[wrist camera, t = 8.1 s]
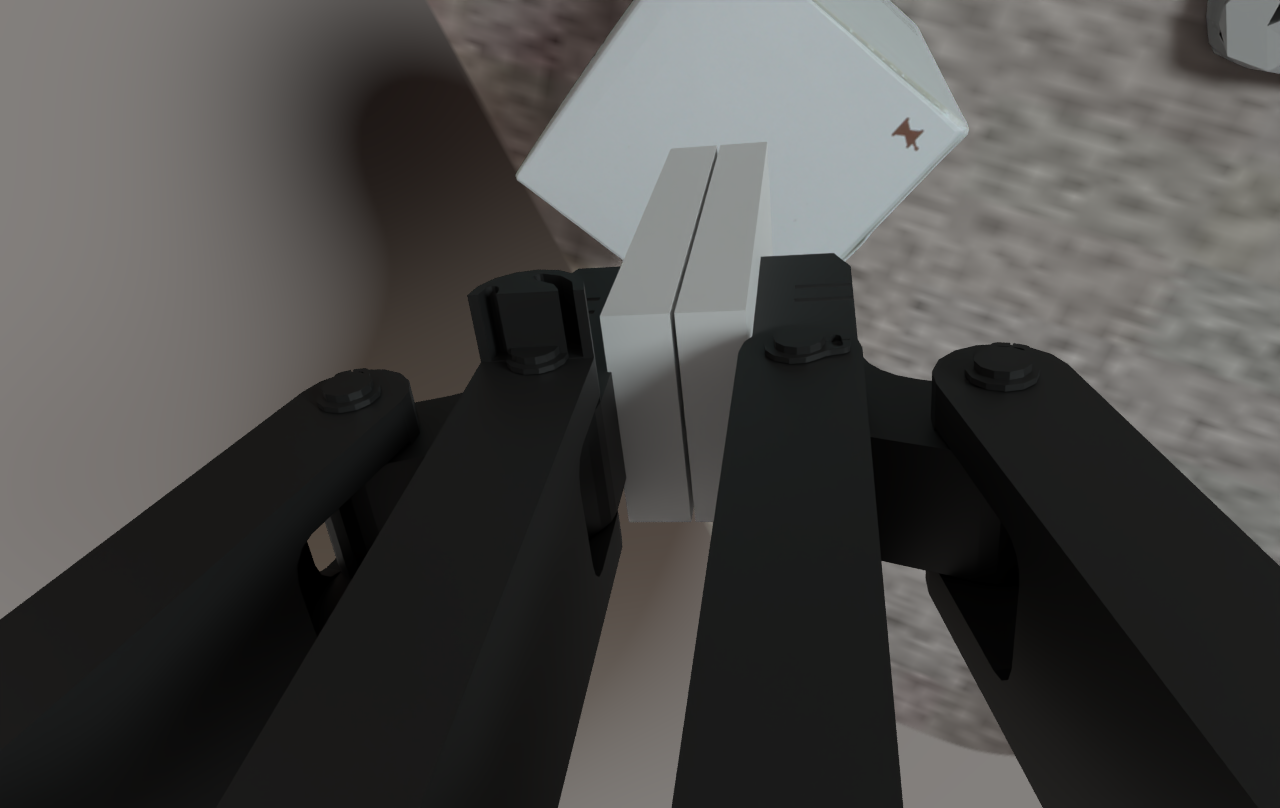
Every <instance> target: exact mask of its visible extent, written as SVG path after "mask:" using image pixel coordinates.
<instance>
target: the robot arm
mask: <svg viewBox="0 0 1280 808" xmlns="http://www.w3.org/2000/svg"><path fill="white" fill-rule="evenodd" d="M467 297H468V301H469V306H470V311H471V315H472V320H473V325H474V330H475V335H476V340H477V344H478V349H479V354H480V359H481V363H480V365H479V367H478V368H477V370H476V372H475V373H474V375H473V377H472V379H471V380H470V382H469V384H468V385H467V387H466V389H465V390H464V392H463V393H460V394H456V395H452V396H447V397H442V398H437V399H431V400H426V401H421V402H416V403H414V399H413V395H412V391H411V387H410V383H409V380H408V379H406V378H405V377H404V376H403V375H402V374H400V373H397V372H393V371H389V370H368V369H366V368H363V369H354V370H353V372H351V370H349V371H344V372H341V373H338V374H336V375H335V376H334V377H332V378H329V379H326V380H324V381H321V382H319V383H317V384H316V385H314V386H312V387H310V388H308V389H307V390H306V391H303V392H302V393H301V394H299V395H298V396H297V397H295V398H294V399H293V400H291V401H290V402H289V403H287V404H286V405H285V406H283V407H282V408H281V409H279V410H278V411H277V412H275V413H274V414H273V415H271V416H270V417H269V418H267V419H266V420H265V421H263V422H262V423H261V424H259V425H258V426H257V427H256V428H254V429H253V430H251V431H250V432H249V433H247V434H246V435H245V436H243V437H242V438H241V439H239V440H238V441H237V442H235V443H234V444H233V445H231V446H230V447H229V448H228V449H226V450H225V451H224V452H222V453H221V454H220V455H218V456H217V457H216V458H214V459H213V460H212V461H210V462H209V463H208V464H207V465H205V466H204V467H202V468H201V469H200V470H199V471H197V472H196V473H195V474H193V475H192V476H190V477H189V478H188V479H186V480H185V481H184V482H182V483H181V484H180V485H178V486H177V487H176V488H174V489H173V490H172V491H170V492H169V493H168V494H166V495H165V496H164V497H162V498H161V499H160V500H158V501H157V502H156V503H155V504H153V505H152V506H151V507H149V508H148V509H147V510H145V511H144V512H143V513H141V514H140V515H139V516H137V517H136V518H135V519H133V520H132V521H131V522H129V523H128V524H127V525H125V526H124V527H123V528H121V529H120V530H119V531H117V532H116V533H115V534H113V535H112V536H111V537H110V538H108V539H107V540H105V541H104V542H103V543H101V544H100V545H99V546H98V547H96V548H95V549H93V550H92V551H91V552H89V553H88V554H87V555H86V556H84V557H83V558H81V559H80V560H79V561H77V562H76V563H75V564H73V565H72V566H71V567H70V568H68V569H67V570H66V571H64V572H63V573H62V574H60V575H59V576H58V577H56V578H55V579H54V580H52V581H51V582H50V583H48V584H47V585H46V586H45V587H43V588H42V589H40V590H39V591H38V592H36V593H35V594H34V595H32V596H31V597H30V598H28V599H27V600H26V601H24V602H23V603H22V604H20V605H19V606H18V607H17V608H15V609H14V610H13V611H11V612H10V613H8V614H7V615H6V616H4V617H3V618H2V619H0V808H558V805H559V800H560V797H561V792H562V788H563V784H564V780H565V776H566V772H567V768H568V764H569V760H570V756H571V752H572V748H573V744H574V739H575V736H576V732H577V728H578V724H579V719H580V715H581V712H582V707H583V703H584V699H585V695H586V691H587V687H588V683H589V679H590V675H591V671H592V667H593V663H594V659H595V655H596V651H597V647H598V643H599V639H600V635H601V631H602V626H603V623H604V619H605V614H606V610H607V606H608V602H609V598H610V594H611V590H612V586H613V582H614V578H615V574H616V569H617V566H618V562H619V558H620V554H621V550H622V536H621V529H620V522H619V515H618V506H619V503H620V499H621V496H622V492H623V489H624V490H625V497H626V504H627V511H628V517H629V522H691V520H692V514H693V508H694V510H695V520H696V522H713V529H712V535H711V542H710V549H709V556H708V563H707V570H706V577H705V583H704V590H703V597H702V604H701V611H700V618H699V625H698V631H697V638H696V645H695V652H694V659H693V665H692V672H691V680H690V686H689V692H688V699H687V706H686V713H685V721H684V727H683V734H682V740H681V747H680V755H679V761H678V768H677V774H676V781H675V788H674V795H673V802H672V808H903V800H902V788H901V777H900V766H899V755H898V744H897V732H896V721H895V710H894V698H893V687H892V676H891V665H890V653H889V642H888V631H887V620H886V608H885V597H884V586H883V575H882V563H881V561H885V562H890V563H894V564H899V565H903V566H908V567H912V568H917V569H922V570H926V583H927V587H928V592H929V594H930V596H931V598H932V600H933V602H934V604H935V606H936V608H937V610H938V611H939V613H940V615H941V617H942V619H943V621H944V623H945V625H946V626H947V628H948V630H949V632H950V634H951V636H952V638H953V640H954V641H955V643H956V645H957V647H958V649H959V651H960V653H961V655H962V657H963V658H964V660H965V662H966V664H967V666H968V668H969V670H970V672H971V673H972V675H973V677H974V679H975V681H976V683H977V685H978V687H979V688H980V690H981V692H982V694H983V696H984V698H985V700H986V702H987V704H988V705H989V707H990V709H991V711H992V713H993V715H994V717H995V719H996V720H997V722H998V724H999V726H1000V728H1001V730H1002V732H1003V734H1004V735H1005V737H1006V739H1007V741H1008V743H1009V745H1010V747H1011V749H1012V751H1013V752H1014V754H1015V756H1016V758H1017V760H1018V762H1019V764H1020V765H1021V767H1022V769H1023V771H1024V773H1025V775H1026V777H1027V779H1028V781H1029V782H1030V784H1031V786H1032V788H1033V790H1034V792H1035V794H1036V795H1037V797H1038V799H1039V801H1040V803H1041V805H1042V807H1043V808H1280V566H1279V565H1278V564H1277V563H1276V562H1275V561H1274V560H1273V559H1272V558H1271V557H1269V556H1268V555H1267V554H1266V553H1265V552H1264V551H1263V550H1262V549H1261V548H1260V547H1259V546H1258V545H1257V544H1256V543H1255V542H1254V541H1253V540H1252V539H1251V538H1250V537H1248V536H1247V535H1246V534H1245V533H1244V532H1243V531H1242V530H1241V529H1240V528H1239V527H1238V526H1237V525H1236V524H1235V523H1234V522H1233V521H1232V520H1231V519H1230V518H1229V517H1228V516H1226V515H1225V514H1224V513H1223V512H1222V511H1221V510H1220V509H1219V508H1218V507H1217V506H1216V505H1215V504H1214V503H1213V502H1212V501H1211V500H1210V499H1209V498H1208V497H1207V496H1206V495H1204V494H1203V493H1202V492H1201V491H1200V490H1199V489H1198V488H1197V487H1196V486H1195V485H1194V484H1193V483H1192V482H1191V481H1190V480H1189V479H1188V478H1187V477H1186V476H1185V475H1183V474H1182V473H1181V472H1180V471H1179V470H1178V469H1177V468H1176V467H1175V466H1174V465H1173V464H1172V463H1171V462H1170V461H1169V460H1168V459H1167V458H1166V457H1165V456H1164V455H1163V454H1161V453H1160V452H1159V451H1158V450H1157V449H1156V448H1155V447H1154V446H1153V445H1152V444H1151V443H1150V442H1149V441H1148V440H1147V439H1146V438H1145V437H1144V436H1143V435H1142V434H1141V433H1139V432H1138V431H1137V430H1136V429H1135V428H1134V427H1133V426H1132V425H1131V424H1130V423H1129V422H1128V421H1127V420H1126V419H1125V418H1124V417H1123V416H1122V415H1121V414H1120V413H1119V412H1117V411H1116V410H1115V409H1114V408H1113V407H1112V406H1111V405H1110V404H1109V403H1108V402H1107V401H1106V400H1105V399H1104V398H1103V397H1102V396H1101V395H1100V394H1099V393H1098V392H1096V391H1095V390H1094V389H1093V388H1092V387H1091V386H1090V385H1089V384H1088V383H1087V382H1086V381H1085V380H1084V379H1083V378H1082V377H1081V376H1080V375H1079V374H1078V373H1077V372H1076V371H1074V370H1073V369H1072V368H1071V367H1070V366H1069V365H1068V364H1067V363H1065V362H1063V361H1062V360H1060V359H1059V358H1057V357H1055V356H1054V355H1052V354H1050V353H1047V352H1043V351H1040V350H1037V349H1033V348H1030V347H1029V346H1027V345H1022V344H1015V343H1014V344H1013V345H1010V343H1001V342H997V343H992V344H991V345H976V346H972V347H968V348H964V349H960V350H955V351H953V352H951V353H950V354H948V355H946V356H944V357H943V358H941V359H939V360H938V362H937V364H936V365H935V367H934V369H933V371H932V381H927V380H920V379H913V378H908V377H903V376H898V375H894V374H891V373H889V372H886V371H883V370H880V369H879V368H877V367H875V366H873V365H871V364H870V363H868V362H867V361H866V360H865V359H864V358H863V350H862V346H861V344H860V343H859V341H858V339H857V328H856V318H855V307H854V299H853V287H852V276H851V266H849V265H848V264H847V263H846V262H844V261H843V260H842V259H841V258H840V257H838V256H837V255H836V254H835V253H822V254H803V255H783V256H773V246H772V226H771V206H770V186H769V166H768V146H767V142H755V143H742V144H728V145H720V148H719V152H717V145H714V146H700V147H686V148H673V149H670V152H669V154H668V157H667V159H666V161H665V164H664V166H663V168H662V171H661V173H660V175H659V178H658V180H657V182H656V185H655V187H654V190H653V192H652V194H651V197H650V199H649V201H648V204H647V206H646V208H645V211H644V213H643V215H642V218H641V220H640V223H639V225H638V227H637V230H636V232H635V234H634V237H633V239H632V241H631V244H630V246H629V249H628V251H627V253H626V256H625V258H624V260H623V263H622V265H621V267H606V268H586V269H578V270H576V271H575V272H573V273H568V272H564V271H560V270H533V271H525V272H517V273H513V274H509V275H505V276H502V277H498V278H495V279H493V280H490V281H488V282H486V283H484V284H482V285H480V286H478V287H477V288H476V289H474V290H473V291H472V292H471V293H470V294H469V295H467ZM324 522H325V524H326V527H327V531H328V534H329V536H330V540H331V543H332V546H333V549H334V552H335V556H336V559H335V560H334V561H333V562H332V563H331V564H330V565H329V566H328V567H327V568H325V569H324V570H322V571H320V572H319V570H318V569H317V567H316V566H315V564H314V561H313V558H312V555H311V552H310V549H309V546H308V543H307V540H308V539H309V537H310V536H311V534H312V533H313V532H314V531H315V530H316V529H318V528H319V527H320V526H321V525H322V524H323V523H324Z"/></svg>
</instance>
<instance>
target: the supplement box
mask: <svg viewBox="0 0 1280 808" xmlns="http://www.w3.org/2000/svg"><path fill="white" fill-rule="evenodd" d="M968 131H969V128H968V124H967V122H966V120H965V118H964V117H963V115H962V113H961V111H960V109H959V107H958V105H957V103H956V101H955V99H954V97H953V95H952V93H951V91H950V89H949V87H948V86H947V84H946V82H945V80H944V78H943V76H942V74H941V72H940V70H939V68H938V66H937V64H936V62H935V60H934V58H933V56H932V54H931V52H930V50H929V48H928V46H927V44H926V42H925V40H924V38H923V36H922V34H921V32H920V30H919V28H918V26H917V25H916V24H915V23H914V22H913V21H912V20H911V19H910V18H909V17H907V16H906V15H905V14H904V13H903V12H902V11H901V10H900V9H899V8H898V7H896V6H895V5H894V4H893V3H892V2H891V1H890V0H633V1H632V3H631V4H630V6H629V7H628V8H627V10H626V11H625V12H624V14H623V15H622V17H621V18H620V19H619V21H618V22H617V24H616V25H615V26H614V28H613V29H612V31H611V32H610V33H609V35H608V36H607V38H606V39H605V40H604V42H603V43H602V45H601V46H600V48H599V49H598V51H597V52H596V53H595V55H594V56H593V58H592V59H591V61H590V62H589V64H588V65H587V66H586V68H585V69H584V71H583V72H582V74H581V75H580V77H579V78H578V80H577V81H576V83H575V84H574V86H573V87H572V89H571V90H570V92H569V93H568V95H567V96H566V98H565V99H564V100H563V102H562V103H561V105H560V107H559V108H558V110H557V111H556V113H555V114H554V116H553V117H552V119H551V120H550V122H549V123H548V125H547V126H546V128H545V130H544V131H543V133H542V134H541V136H540V137H539V139H538V140H537V142H536V143H535V145H534V146H533V148H532V149H531V151H530V153H529V154H528V156H527V157H526V159H525V160H524V162H523V163H522V165H521V166H520V168H519V170H518V171H517V173H516V179H517V181H519V182H520V183H522V184H523V185H524V186H526V187H527V188H529V189H530V190H531V191H532V192H534V193H535V194H536V195H538V196H539V197H540V198H542V199H543V200H544V201H545V202H547V203H548V204H549V205H551V206H552V207H553V208H555V209H556V210H557V211H559V212H560V213H561V214H563V215H564V216H565V217H567V218H568V219H569V220H570V221H572V222H573V223H574V224H576V225H577V226H578V227H580V228H581V229H582V230H584V231H585V232H586V233H588V234H589V235H590V236H592V237H593V238H594V239H596V240H597V241H598V242H599V243H601V244H602V245H603V246H605V247H606V248H607V249H609V250H610V251H611V252H613V253H614V254H615V255H617V256H618V257H619V258H620V259H622V260H624V258H625V256H626V253H627V251H628V249H629V246H630V244H631V241H632V239H633V237H634V234H635V232H636V230H637V227H638V225H639V223H640V220H641V218H642V215H643V213H644V211H645V208H646V206H647V204H648V201H649V199H650V197H651V194H652V192H653V190H654V187H655V185H656V182H657V180H658V178H659V175H660V173H661V171H662V168H663V166H664V164H665V161H666V159H667V157H668V154H669V152H670V149H673V148H686V147H700V146H714V145H717V152H719V148H720V145H728V144H742V143H755V142H767V146H768V166H769V186H770V206H771V226H772V246H773V256H783V255H803V254H822V253H835V254H836V255H837V256H838V257H840V258H841V259H842V260H843V261H844V262H845V261H846V260H847V259H848V258H849V257H850V256H851V255H852V254H853V253H854V252H855V251H856V250H857V249H858V248H859V247H860V246H861V245H862V244H863V243H864V242H865V241H866V240H867V238H868V237H869V236H870V234H871V233H872V232H873V231H874V230H875V229H876V228H877V227H878V226H879V225H880V224H881V223H882V222H883V221H884V220H885V219H886V218H887V216H888V215H889V214H890V213H891V212H892V211H893V210H894V209H895V208H896V207H897V206H898V205H899V204H900V203H901V202H902V201H903V200H904V199H905V198H906V197H907V196H908V195H909V193H910V192H911V191H912V190H913V189H914V188H915V187H916V186H917V185H918V184H919V183H920V182H921V181H922V180H923V179H924V178H925V177H926V176H927V175H928V174H929V173H930V172H931V171H932V170H933V169H934V168H935V167H936V166H937V165H938V163H939V162H940V161H941V160H942V159H943V158H944V157H945V156H946V155H947V154H948V153H949V152H950V151H951V150H953V149H954V148H955V147H956V146H957V145H958V144H959V143H960V142H961V141H962V140H963V139H964V138H965V137H966V136H967V134H968Z"/></svg>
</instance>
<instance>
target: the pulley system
mask: <svg viewBox="0 0 1280 808" xmlns="http://www.w3.org/2000/svg"><path fill="white" fill-rule="evenodd" d="M1206 20H1207V29H1208V39H1209V44H1210V45H1211V46H1212V49H1213V53H1215V54H1217V55H1219V56H1221V57H1223V58H1226V59H1228V60H1230V61H1232V62H1234V63H1236V64H1238V65H1241V66H1243V67H1245V68H1249V69H1254V70H1260V71H1266V72H1272V73H1278V74H1280V0H1209V1H1208V2H1207V15H1206Z"/></svg>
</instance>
